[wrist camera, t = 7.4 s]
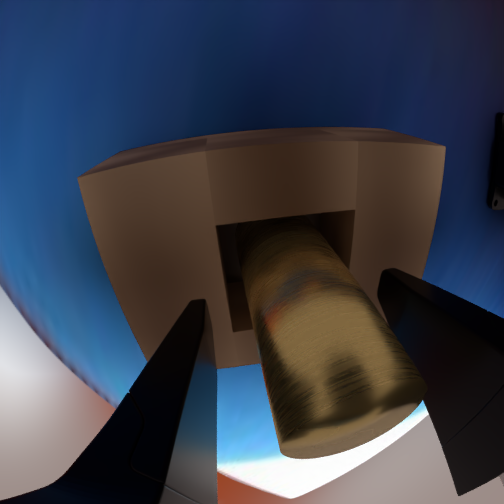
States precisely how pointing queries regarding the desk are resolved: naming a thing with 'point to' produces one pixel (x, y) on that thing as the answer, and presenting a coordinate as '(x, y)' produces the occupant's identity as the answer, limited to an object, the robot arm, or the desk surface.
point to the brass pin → (320, 342)
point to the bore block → (254, 217)
